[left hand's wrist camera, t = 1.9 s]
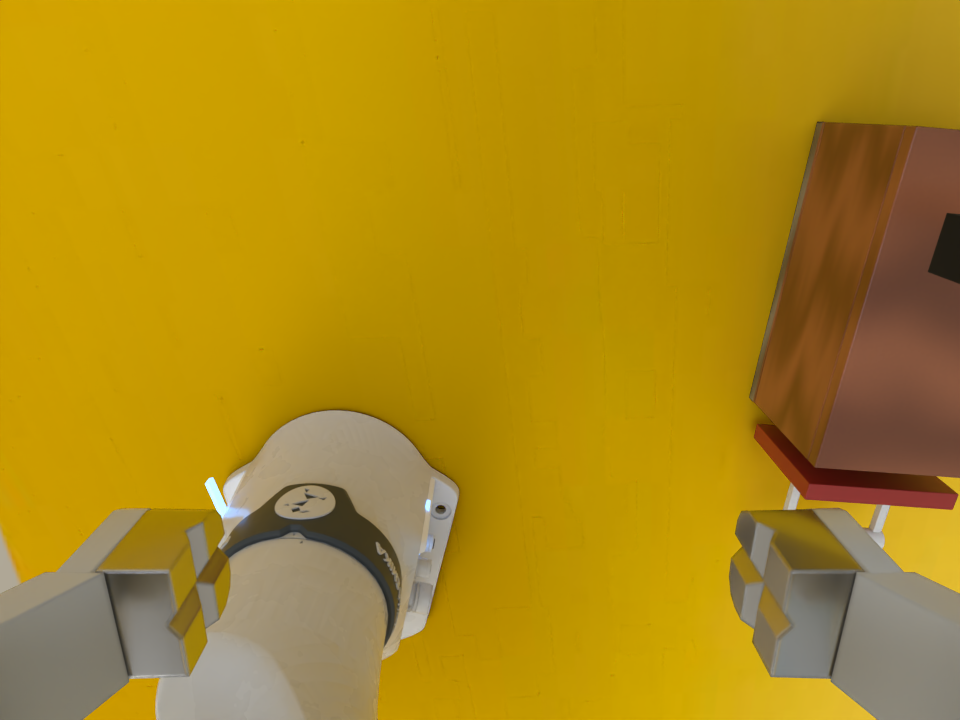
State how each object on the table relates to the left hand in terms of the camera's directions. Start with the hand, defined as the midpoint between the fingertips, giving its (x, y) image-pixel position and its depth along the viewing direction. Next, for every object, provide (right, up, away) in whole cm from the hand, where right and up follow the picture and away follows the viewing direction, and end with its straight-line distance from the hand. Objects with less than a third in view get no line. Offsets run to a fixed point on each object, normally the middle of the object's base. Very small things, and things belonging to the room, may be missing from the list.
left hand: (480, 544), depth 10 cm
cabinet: (+27, +9, +37) cm, 47 cm away
